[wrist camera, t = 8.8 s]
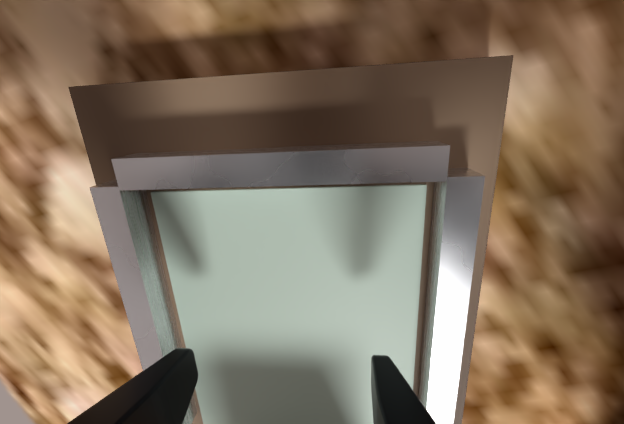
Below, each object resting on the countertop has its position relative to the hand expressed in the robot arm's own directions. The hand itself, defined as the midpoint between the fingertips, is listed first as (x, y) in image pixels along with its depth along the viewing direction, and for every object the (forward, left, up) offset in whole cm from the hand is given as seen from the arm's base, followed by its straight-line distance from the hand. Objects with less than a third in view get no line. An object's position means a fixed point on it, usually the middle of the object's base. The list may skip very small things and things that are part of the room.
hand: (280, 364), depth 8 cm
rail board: (0, +3, -3) cm, 4 cm away
